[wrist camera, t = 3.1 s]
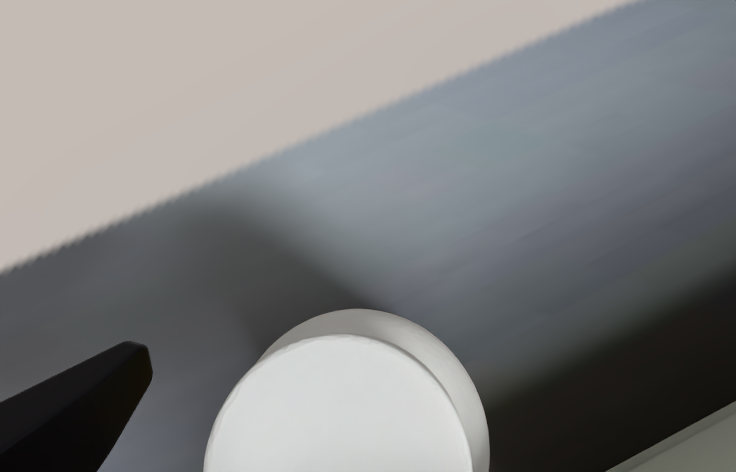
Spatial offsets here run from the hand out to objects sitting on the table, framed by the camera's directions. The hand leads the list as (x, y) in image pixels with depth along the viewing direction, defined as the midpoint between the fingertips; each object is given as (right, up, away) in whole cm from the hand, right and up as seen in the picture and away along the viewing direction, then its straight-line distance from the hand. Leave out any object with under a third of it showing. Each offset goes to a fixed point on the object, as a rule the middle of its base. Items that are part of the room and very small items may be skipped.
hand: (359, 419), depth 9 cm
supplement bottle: (+1, -2, +7) cm, 8 cm away
